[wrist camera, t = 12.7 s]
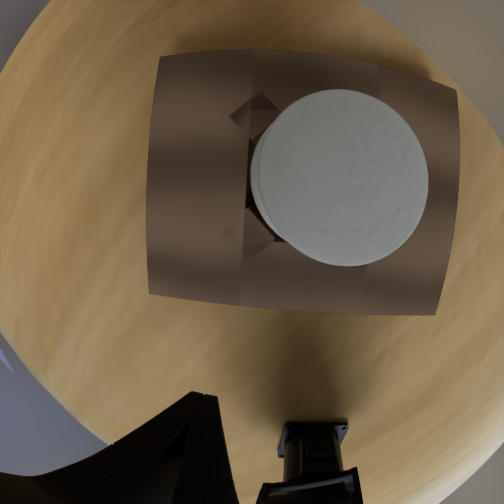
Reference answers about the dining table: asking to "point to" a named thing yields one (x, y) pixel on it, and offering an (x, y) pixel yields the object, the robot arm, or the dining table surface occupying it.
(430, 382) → the dining table surface
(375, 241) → the pill bottle
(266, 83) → the socket board
